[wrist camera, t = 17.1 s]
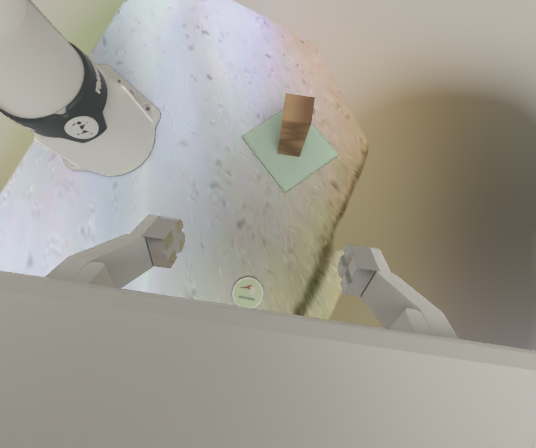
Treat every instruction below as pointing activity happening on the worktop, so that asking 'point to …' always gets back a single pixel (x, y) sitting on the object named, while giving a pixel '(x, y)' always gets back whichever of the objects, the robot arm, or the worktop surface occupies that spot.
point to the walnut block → (295, 124)
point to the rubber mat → (284, 166)
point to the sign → (247, 292)
